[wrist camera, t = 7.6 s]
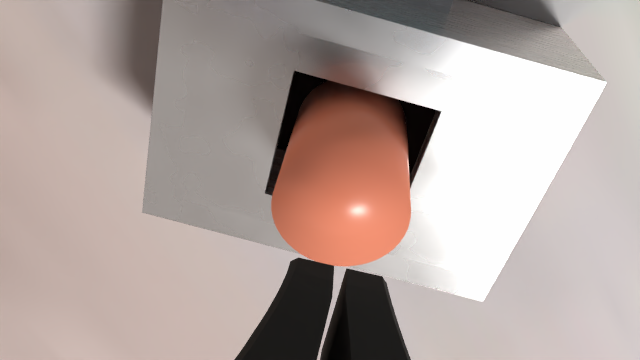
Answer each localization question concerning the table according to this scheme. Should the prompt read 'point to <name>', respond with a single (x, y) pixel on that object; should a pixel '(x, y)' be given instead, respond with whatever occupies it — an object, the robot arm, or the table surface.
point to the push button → (344, 177)
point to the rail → (433, 4)
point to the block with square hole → (382, 78)
